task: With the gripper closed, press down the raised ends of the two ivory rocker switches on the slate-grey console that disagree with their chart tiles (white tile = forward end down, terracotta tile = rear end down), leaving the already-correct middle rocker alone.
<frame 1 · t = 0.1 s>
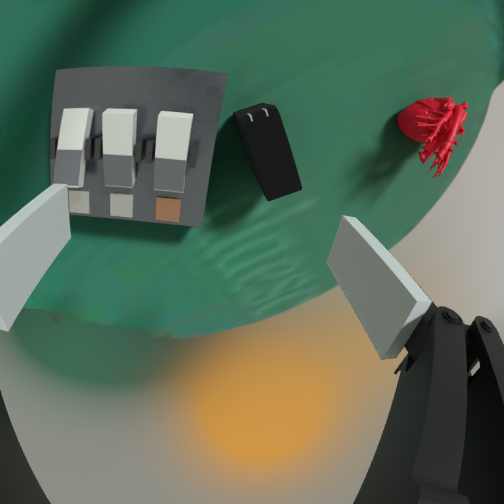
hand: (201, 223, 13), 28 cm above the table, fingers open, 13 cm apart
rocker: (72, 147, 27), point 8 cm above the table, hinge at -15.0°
electronic device: (258, 140, 38), on the table
rocker mid: (119, 149, 28), point 8 cm above the table, hinge at 15.0°
console: (136, 137, 35), on the table
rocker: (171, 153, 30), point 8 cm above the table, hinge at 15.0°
heart organ: (415, 119, 38), on the table
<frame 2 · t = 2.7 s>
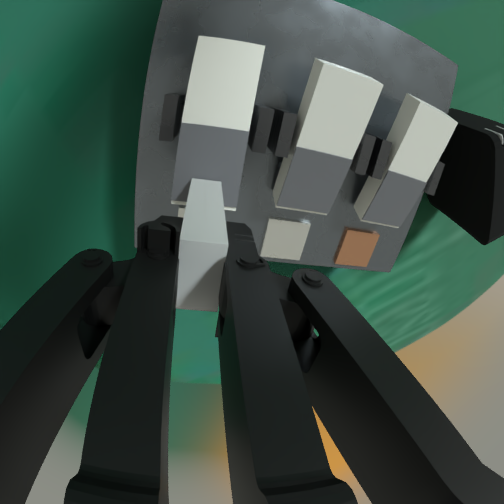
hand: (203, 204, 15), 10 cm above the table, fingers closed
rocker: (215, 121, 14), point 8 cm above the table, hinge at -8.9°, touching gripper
electronic device: (437, 154, 25), on the table
rocker mid: (323, 142, 15), point 8 cm above the table, hinge at 15.0°
console: (289, 123, 22), on the table
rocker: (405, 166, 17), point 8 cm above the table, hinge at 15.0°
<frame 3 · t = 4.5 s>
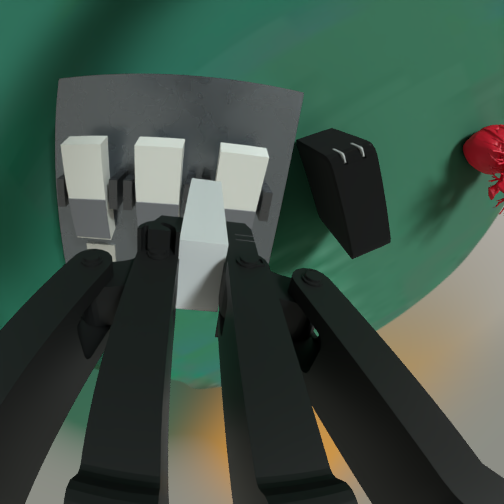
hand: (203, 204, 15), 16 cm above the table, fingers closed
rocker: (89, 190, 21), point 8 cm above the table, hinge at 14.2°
electronic device: (323, 173, 32), on the table
rocker mid: (158, 194, 22), point 8 cm above the table, hinge at 15.0°
console: (171, 168, 29), on the table
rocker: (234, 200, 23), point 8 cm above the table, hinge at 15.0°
heart organ: (476, 146, 32), on the table
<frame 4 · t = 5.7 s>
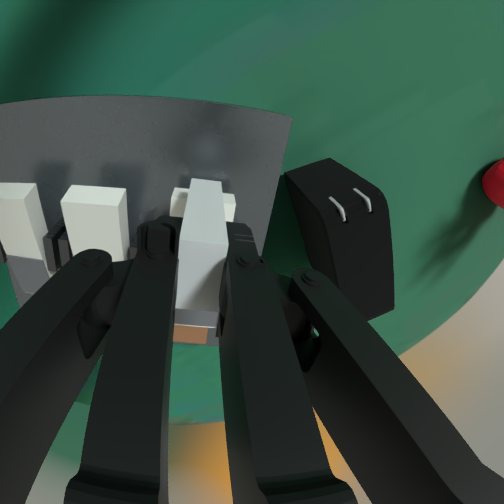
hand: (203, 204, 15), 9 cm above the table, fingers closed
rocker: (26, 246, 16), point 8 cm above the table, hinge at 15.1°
electronic device: (317, 212, 27), on the table
rocker mid: (102, 255, 17), point 8 cm above the table, hinge at 15.0°
console: (131, 206, 24), on the table
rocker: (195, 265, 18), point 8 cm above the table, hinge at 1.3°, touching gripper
heart organ: (496, 175, 27), on the table
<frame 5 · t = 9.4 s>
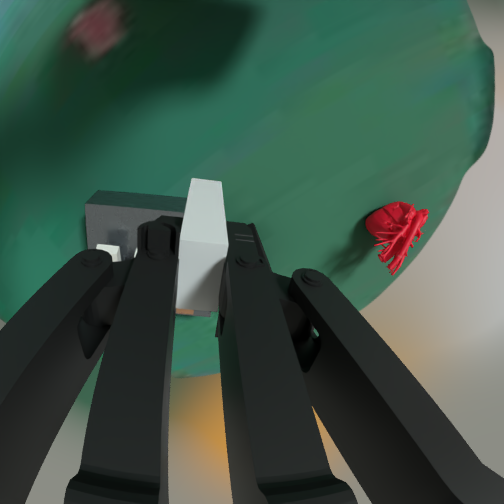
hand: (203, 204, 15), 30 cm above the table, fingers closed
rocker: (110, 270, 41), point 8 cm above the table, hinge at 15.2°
electronic device: (250, 248, 52), on the table
rocker mid: (148, 274, 42), point 8 cm above the table, hinge at 15.0°
console: (156, 247, 49), on the table
heart organ: (383, 216, 52), on the table
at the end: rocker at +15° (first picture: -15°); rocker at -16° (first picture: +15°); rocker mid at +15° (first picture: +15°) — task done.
